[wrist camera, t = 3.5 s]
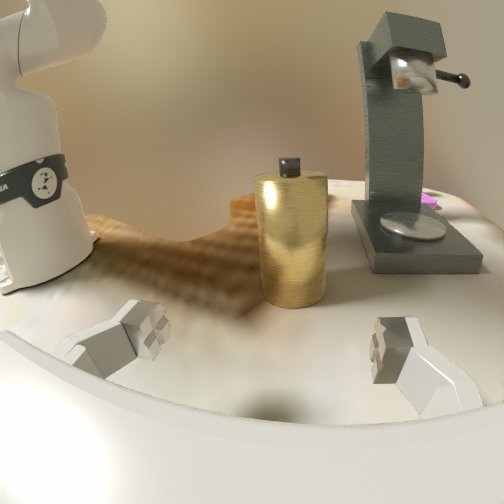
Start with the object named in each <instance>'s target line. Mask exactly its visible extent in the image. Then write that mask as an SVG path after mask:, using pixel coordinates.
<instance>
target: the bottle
mask: <svg viewBox="0 0 504 504" xmlns="http://www.w3.org/2000/svg"><path fill="white" fill-rule="evenodd" d="M279 168H280V171H275V172H268V173H263V174H259V175H256V176H254V177H253V181H254V193H255V204H256V216H257V228H258V240H259V252H260V264H261V277H262V289H263V295H264V297H265V299H266V300H267V301H268V302H270V303H271V304H273V305H276V306H279V307H282V308H290V309H296V308H304V307H308V306H311V305H313V304H315V303H317V302H319V301H320V300H321V299H322V298H323V296H324V294H325V287H326V267H327V235H328V181H327V174H325V173H322V172H317V171H307V170H300V158H299V157H284V158H279Z"/></svg>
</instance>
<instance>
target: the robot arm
mask: <svg viewBox="0 0 504 504" xmlns="http://www.w3.org/2000/svg"><path fill="white" fill-rule="evenodd" d="M27 2H28V4H29V8H28V9H26V10H24V11H21V12H18V13H15V14H12V15H9V16H7V17H4V18H1V19H0V253H1V255H0V291H1V294H5V293H8V292H11V291H13V290H16V289H18V288H23V287H28V286H33V285H36V284H39V283H42V282H45V281H48V280H50V279H52V278H54V277H57V276H59V275H61V274H63V273H64V272H66V271H68V270H70V269H71V268H73V267H74V266H76V265H77V264H79V263H80V262H81V261H83V260H84V259H85V258H86V257H87V256H88V255H89V254H90V253H91V251H92V250H93V242H94V241H95V240H96V239H97V238H98V237H97V234H96V232H95V231H90V230H89V227H88V224H87V221H86V218H85V215H84V212H83V209H82V205H81V202H80V199H79V196H78V193H77V191H76V190H74V189H73V188H71V187H70V186H69V184H68V183H67V181H66V179H67V178H68V172H67V163H66V161H65V156H64V155H63V154H61V147H60V140H59V129H58V117H57V108H56V105H55V103H54V101H53V100H52V99H51V98H50V97H49V96H48V95H46V94H44V93H41V92H37V91H31V90H25V89H21V88H19V87H17V83H18V79H19V78H20V77H22V76H23V75H26V74H29V73H32V72H35V71H39V70H42V69H45V68H49V67H52V66H56V65H61V64H63V63H66V62H69V61H71V60H74V59H76V58H78V57H81V56H83V55H86V54H89V53H90V52H91V51H92V50H93V49H94V48H95V47H96V46H97V44H98V43H99V42H100V40H101V38H102V36H103V34H104V31H105V28H106V22H107V18H106V12H105V9H104V7H103V6H102V4H101V3H100V2H99V1H98V0H27ZM165 313H166V311H165V308H164V305H162V304H160V303H154V302H148V301H141V300H135V299H131V300H129V301H128V302H127V303H126V304H125V305H124V306H123V307H122V308H121V309H120V310H119V311H118V312H117V313H116V314H115V315H114V317H113V318H112V319H111V320H106V321H103V322H101V323H99V324H96V325H94V326H92V327H90V328H87V329H85V330H83V331H80V332H78V333H76V334H73V335H71V336H69V337H66V338H64V339H63V341H62V342H61V343H60V344H59V345H58V346H57V347H56V348H55V349H54V350H53V351H52V352H51V353H50V354H48V353H46V352H45V351H43V350H41V349H39V348H37V347H35V346H34V345H32V344H30V343H28V342H27V341H25V340H23V339H22V338H20V337H18V336H17V335H15V334H14V333H12V332H10V331H7V330H6V331H1V332H0V504H504V401H501V402H498V403H494V404H491V405H487V406H484V405H483V402H482V399H481V396H480V393H479V390H478V387H477V385H476V382H475V380H474V379H473V378H472V377H470V376H469V375H468V374H467V373H465V372H464V371H463V370H462V369H460V368H459V367H458V366H457V365H455V364H454V363H453V362H452V361H450V360H449V359H448V358H447V357H445V356H444V355H443V354H441V353H440V352H439V351H438V350H436V349H435V348H434V347H433V346H428V344H427V341H426V338H425V336H424V333H423V330H422V328H421V325H420V323H419V320H418V318H417V317H416V316H405V317H378V318H377V319H376V322H375V332H376V333H375V334H374V335H372V339H371V344H370V360H371V361H372V362H373V363H374V364H373V367H372V376H373V384H393V383H396V384H395V385H396V386H397V387H398V388H399V390H400V391H401V392H402V393H403V395H404V396H405V397H406V398H407V400H408V401H409V402H410V404H411V405H412V406H413V407H414V409H415V410H416V411H417V412H418V414H419V415H420V416H419V418H418V419H417V420H413V421H404V422H394V423H381V424H361V425H321V424H301V423H287V422H277V421H267V420H259V419H252V418H245V417H239V416H233V415H227V414H222V413H217V412H212V411H207V410H203V409H198V408H194V407H190V406H186V405H182V404H178V403H174V402H171V401H167V400H163V399H160V398H157V397H153V396H150V395H147V394H144V393H141V392H138V391H135V390H132V389H129V388H126V387H123V386H121V385H118V384H115V383H113V382H110V381H107V380H105V378H107V377H108V376H110V375H111V374H113V373H114V372H116V371H118V370H119V369H121V368H122V367H124V366H125V365H127V364H128V363H130V362H131V361H133V360H134V359H136V358H137V357H141V358H145V359H149V360H154V359H155V358H156V356H157V355H158V353H159V352H160V350H161V347H160V345H162V344H164V343H165V342H166V341H167V340H168V338H169V335H170V324H169V321H168V320H167V319H166V317H165V316H164V315H165Z"/></svg>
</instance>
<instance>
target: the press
mask: <svg viewBox="0 0 504 504" xmlns="http://www.w3.org/2000/svg"><path fill="white" fill-rule="evenodd" d="M357 51H358V58H359V65H360V74H361V84H362V94H363V108H364V124H365V159H366V161H365V162H366V164H365V166H366V167H365V168H366V169H365V171H366V172H365V200H352V209H351V213H352V216H353V218H354V221H355V223H356V226H357V229H358V231H359V234H360V237H361V240H362V242H363V245H364V248H365V251H366V254H367V256H368V259H369V262H370V265H371V268H372V271H373V273H385V274H475V273H479V270H480V267H481V263H482V259H483V254H482V253H481V252H480V251H479V250H478V249H477V248H476V247H475V246H474V245H473V244H471V243H470V242H469V241H468V240H467V239H466V238H465V237H464V236H463V235H462V234H461V233H460V232H459V231H457V230H456V229H455V228H454V227H453V226H452V225H451V224H449V223H448V222H447V221H446V220H445V219H444V218H442V217H441V216H440V215H439V214H438V213H436V212H435V211H434V210H433V209H432V208H430V207H429V206H428V205H427V204H425V203H421V198H422V184H423V162H424V161H423V159H424V129H423V108H422V95H437V94H438V88H437V79H441V80H445V81H449V82H453V83H457V84H458V85H459V86H460V87H462V88H465V89H466V88H468V87H469V86H470V79H469V78H468V76H466V75H465V74H463V73H461V74H458V75H455V74H452V73H447V72H444V71H440V70H435V65H434V63H435V62H437V61H439V60H441V59H443V58H445V57H447V54H446V48H445V43H444V39H443V35H442V30H441V26H440V23H437V22H433V21H429V20H426V19H422V18H417V17H413V16H408V15H402V14H397V13H391V12H385V14H384V15H383V17H382V19H381V20H380V22H379V23H378V25H377V27H376V28H375V30H374V32H373V33H372V35H371V37H370V39H369V40H368V42H362V41H360V43H359V44H358V46H357Z"/></svg>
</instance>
